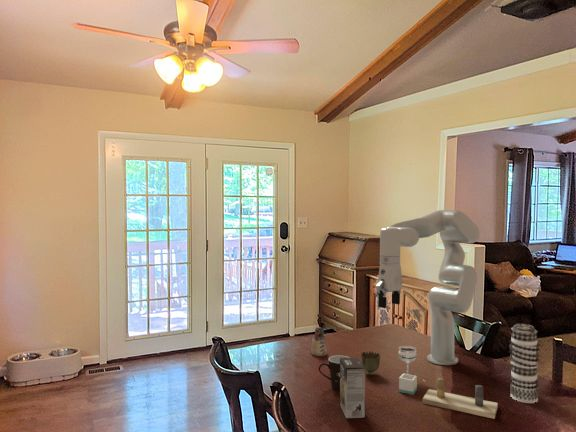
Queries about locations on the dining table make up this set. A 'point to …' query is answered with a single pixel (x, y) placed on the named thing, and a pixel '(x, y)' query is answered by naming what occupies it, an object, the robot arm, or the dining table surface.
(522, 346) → the decorative candle
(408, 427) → the dining table surface
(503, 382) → the dining table surface
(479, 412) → the pin board
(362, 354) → the cup
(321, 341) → the figurine
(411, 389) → the sleeve
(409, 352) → the wineglass
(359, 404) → the coffee box
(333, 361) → the coffee mug
